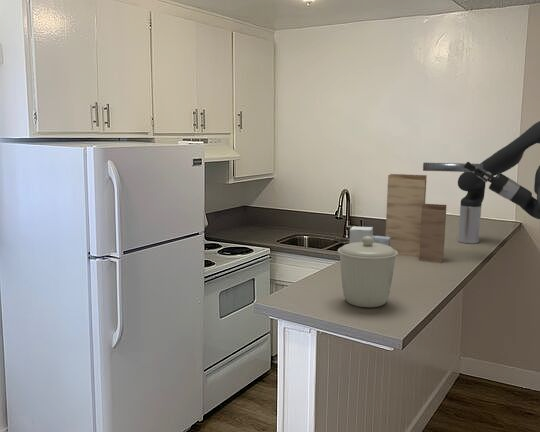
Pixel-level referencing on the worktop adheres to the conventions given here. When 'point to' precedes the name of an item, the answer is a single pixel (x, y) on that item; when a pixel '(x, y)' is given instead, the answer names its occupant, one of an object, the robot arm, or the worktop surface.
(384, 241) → the medicine box
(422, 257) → the tall wooden post
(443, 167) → the pin
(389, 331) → the worktop surface
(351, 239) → the skincare box
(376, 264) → the canister
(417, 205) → the stand
